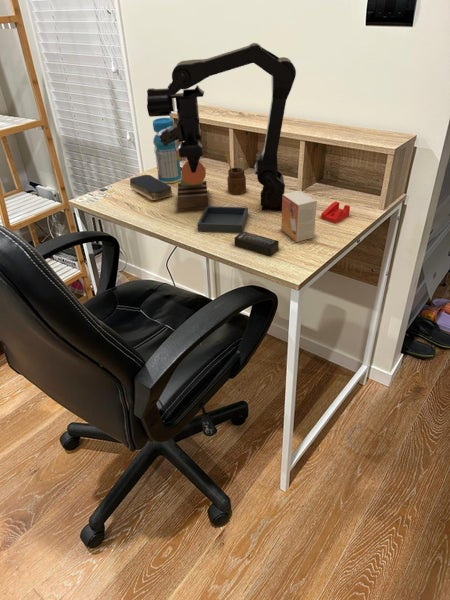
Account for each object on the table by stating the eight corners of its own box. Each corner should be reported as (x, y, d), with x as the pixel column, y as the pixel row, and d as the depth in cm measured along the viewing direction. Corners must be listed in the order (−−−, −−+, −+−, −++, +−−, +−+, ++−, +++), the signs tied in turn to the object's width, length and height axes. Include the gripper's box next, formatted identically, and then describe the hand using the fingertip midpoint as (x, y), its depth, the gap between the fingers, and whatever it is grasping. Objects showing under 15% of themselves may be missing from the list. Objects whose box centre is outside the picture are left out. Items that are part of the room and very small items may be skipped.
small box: (280, 230, 123) (281, 193, 117) (298, 225, 125) (300, 189, 119) (296, 242, 117) (297, 205, 111) (314, 237, 119) (317, 200, 113)
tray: (248, 214, 132) (247, 207, 131) (242, 233, 123) (242, 225, 122) (206, 213, 134) (206, 206, 133) (198, 231, 125) (197, 223, 124)
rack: (208, 194, 146) (207, 180, 144) (210, 210, 136) (209, 195, 133) (178, 196, 146) (176, 182, 143) (177, 212, 136) (175, 198, 133)
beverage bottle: (167, 186, 154) (159, 125, 142) (153, 180, 159) (144, 120, 147) (187, 179, 158) (180, 119, 146) (172, 173, 163) (165, 115, 152)
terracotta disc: (206, 182, 133) (204, 158, 129) (206, 183, 132) (204, 160, 128) (182, 184, 133) (180, 160, 129) (182, 185, 132) (180, 161, 128)
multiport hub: (270, 256, 112) (270, 248, 111) (233, 245, 118) (233, 237, 116) (279, 248, 115) (279, 240, 114) (243, 238, 121) (243, 230, 119)
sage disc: (203, 191, 143) (202, 169, 139) (204, 192, 142) (202, 171, 138) (181, 193, 143) (179, 171, 139) (181, 194, 142) (179, 172, 138)
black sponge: (128, 189, 153) (126, 179, 151) (150, 182, 157) (148, 172, 155) (153, 204, 142) (151, 193, 140) (175, 196, 146) (174, 185, 144)
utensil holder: (240, 196, 144) (239, 158, 137) (223, 192, 146) (221, 155, 139) (249, 189, 148) (248, 152, 140) (232, 186, 150) (231, 150, 143)
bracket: (334, 211, 131) (335, 201, 130) (348, 215, 128) (350, 205, 127) (321, 218, 128) (321, 208, 126) (335, 223, 125) (336, 213, 123)
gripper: (159, 108, 129) (167, 162, 138) (155, 126, 113) (164, 185, 123) (199, 105, 129) (203, 160, 138) (200, 123, 114) (205, 182, 123)
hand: (193, 171), depth 130 cm, fingers closed on terracotta disc, 1 cm apart
